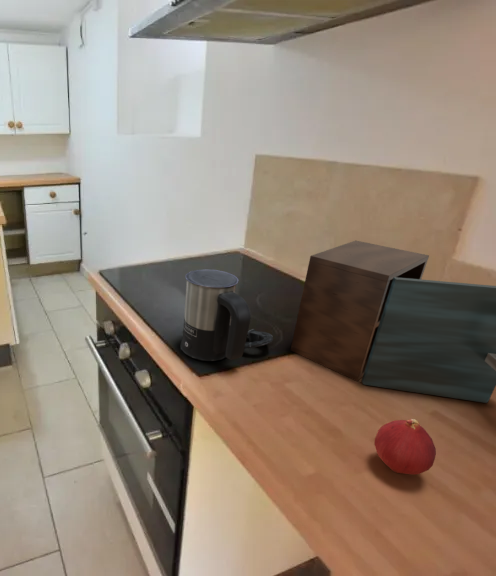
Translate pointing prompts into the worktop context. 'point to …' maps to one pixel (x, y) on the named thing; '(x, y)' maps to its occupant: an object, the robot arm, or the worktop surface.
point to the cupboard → (348, 302)
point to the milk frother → (217, 318)
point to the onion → (405, 447)
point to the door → (436, 340)
